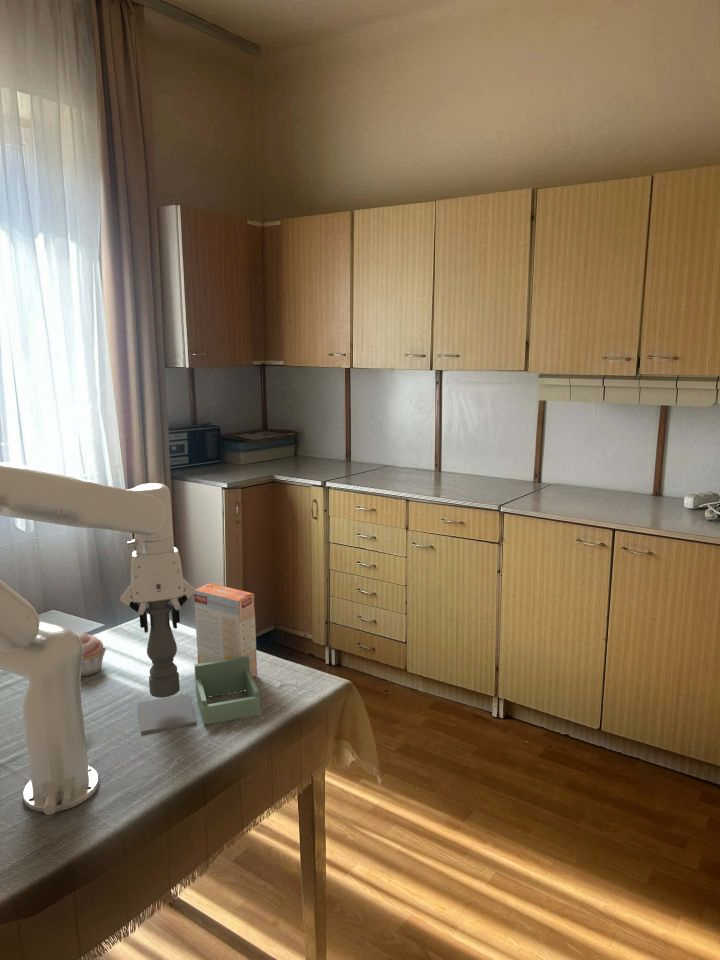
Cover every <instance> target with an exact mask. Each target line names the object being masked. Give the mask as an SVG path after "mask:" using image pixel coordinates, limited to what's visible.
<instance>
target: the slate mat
mask: <svg viewBox="0 0 720 960" xmlns="http://www.w3.org/2000/svg"><path fill="white" fill-rule="evenodd" d="M137 709H138V718H139V726H140V729H139V730H140V734H141V735H144V734H148V733H155V732H159V731H160V732H161V731H164V730H170V729H177V728H182V727H187V725H188V726H193V725H196V724H197V722H196V721H197V720H196V718H195V713H194V709H193V706H192V701H191V697H190V694H189V693H187V694H181V695H175V696H174V695H173V696H169V697H163V698H159V699H151V700H146V701H139V702H137ZM192 724H193V725H192Z"/></svg>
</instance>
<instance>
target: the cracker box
mask: <svg viewBox="0 0 720 960" xmlns="http://www.w3.org/2000/svg"><path fill="white" fill-rule="evenodd" d="M194 590H195V592H194V593H193V596H194V599H193V600H194V612H195V613H194V615H195V631H196V632H195V634H196V635H195V636H196V649H197V653H196V654H197V664H201V663H207V662H214V661H220V660H226V659H233V658H239V657H245V656H249V666H250V672H251V674H252V677H254V678H255V677H257V676H258V668H257V667H258V665H257V663H258V661H257V660H258V659H257V637H256V635H257V634H256V613H255V612H256V611H255V593H252V592H248V591H244V590H241V589H236V588H232V587H228V586H224V585H220V584H217V583H213V582H211V583H207V584H204V585H203V586H200V587H198V588H194Z"/></svg>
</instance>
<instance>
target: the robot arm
mask: <svg viewBox="0 0 720 960" xmlns="http://www.w3.org/2000/svg"><path fill="white" fill-rule="evenodd" d="M172 515H173V514H172V501H171V490H170V488H169V487H168V486H167V485H166V484H164V483H158V482H153V483H152V482H151V483H142V484H139V485H137V486H135V487H133V488H129V489H128V488H127V489H125V488H121V487H120V488H119V487H116V486H111V485H107V484H102V483H99V482H96V481H92V480H87V479H85V478H84V479H83V478H80V477H75V476H70V475H67V474H62V473H57V472H52V471H50V470H44V469H40V468H35V467H32V466H27V465H23V464H19V463H12V462H3V461H2V462H1V461H0V516H1V517H2V516H3V517H7V518H8V517H9V518H15V519H19V520H21V519H22V520H27V521H34V522H35V521H36V522H40V523H41V522H43V523H47V524H54V525H60V526H66V527H67V526H68V527H74V528H83V529H101V530H109V531H114V532H115V531H116V532H121V533H128V534H129V533H130V534H134V538H133V539H132V540H131V541H127V549H132V550H133V552H132V553H131V554H132V555H131V561H130V584H128V587H127V588H126V589H125V591H124V592H123V593H122V594H121V596H120V598H119V599H120V603H122V604H124V605H126V606H127V607H128V606H129V608H130V609H132V610H133V611H134V612H136V613H137V614H138V615H139V625H140V629H142V628H143V631H144V633H145V634H147V633H148V632H149V625H148V624H149V622H148V613H147V612H146V607H147V604H148V602H156V601H163V600H169V601H171V603H172V604H171V605H172V609H171V610H170V612H171V622H172V628H173V629H178V624H179V623H181V620H180V619H181V618H180V610H181V608H182V606H183V605H184V604H185V603H186V601H188V599H189V598H191V596H193V595H194V592H195V587H194V586H193V585H191V584H190V583H189V582H188V581H187V580H186V579H185V578H184V575H183V568H182V567H183V566H182V561H181V556H180V553H179V550H178V548H177V547H175V546H174V544H175V543H174V542H175V541H174V531H173V529H174V528H173V517H172ZM156 584H160V585H161V588H160V589H159V590H158V589H156ZM160 590H161V591H160ZM157 591H160V592H157ZM131 596H132V598H130V597H131ZM82 660H83V646H82V642H81V640H80V639H79V637H78V634H77V633H75V632H74V631H73V630H71V629H69V628H67V627H65V626H61V625H59V624H54V623H50V622H48V621H46V622H45V621H42V620H40V617H39V614H38V613H37V610H36V609H35V608H34V606H33V605H32V604H31V603H30V602H29V601H28V599H26V598H24V597H23V596H22V595H20V594H19V593H18V592H16V591H15V590H14V589H12V587H10V586H9V585H8V584H6V583H5V582H4V581H3V580H1V579H0V670H1V671H3V672H7V673H11V674H14V675H17V676H20V677H23V678H25V679H27V680H28V687H27V689H26V692H25V694H24V697H23V701H22V715H23V716H22V717H23V722H24V730H25V737H26V739H25V740H26V746H27V747H26V748H27V756H28V762H29V763H28V764H29V773H30V780H29V781H28V782H27V784H26V785H25V787H24V789H23V792H22V799H23V802H24V804H25V806H26V807H27V808H29V809H31V810H32V811H36V812H39V813H40V812H41V813H44V814H45V815H47V816H49V815H53V814H55V813H56V812H61V811H65V810H68V809H71V808H74V807H77V806H78V805H80V804H82V803H83V802H85V801H87V800H88V799H89V798H91V797H92V795H93V794H94V793H95V792H96V790H97V789H98V787H99V785H100V783H99V781H100V779H99V778H100V777H99V774H98V772H97V770H95V769H94V768H93V767H92V766H89V761H88V750H87V740H86V739H87V738H86V731H85V730H86V729H85V720H84V710H83V701H82V687H81V686H82V685H81V681H82V680H81V679H82V678H81V677H82V676H81V667H82Z"/></svg>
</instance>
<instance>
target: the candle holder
mask: <svg viewBox="0 0 720 960" xmlns="http://www.w3.org/2000/svg"><path fill="white" fill-rule="evenodd" d="M160 588H161V585H160V584H156V589H158V590H159V589H160ZM160 591H161V590H160ZM160 591H157V592H160ZM147 604H148V605H146V607H145V610H146V612H147V614H149V621H150V631H149V637H148V643H147V646H146V647H147V648H146V654H147V657H148V658H149V660H150V661H151V664H152V665H151V667H150V669H149V675H148V685H149V686H148V687H149V694H150V695H151V696H152V697H155V698H159V699H162V698H168V697H173V696H174V695H176V694H178V692H179V691H180V686H181V685H180V673H179V672H178V665H177V664H175V662H174V658H175V656H176V654H177V652H178V646H177V642H176V639H175V637H174V633H173V630H172V627H171V624H170V612H171V609H172V604H171V602H170V600H163V601H156V602H148V603H147Z"/></svg>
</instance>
